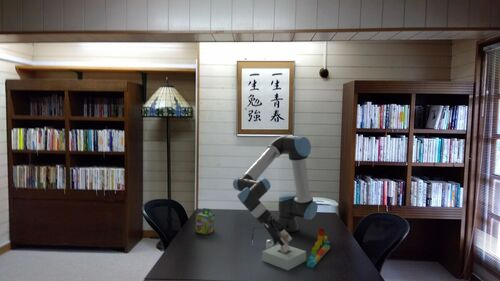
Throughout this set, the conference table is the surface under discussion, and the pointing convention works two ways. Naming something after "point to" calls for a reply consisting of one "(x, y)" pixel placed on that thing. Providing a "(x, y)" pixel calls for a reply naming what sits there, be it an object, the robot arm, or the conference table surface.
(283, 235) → the tall beech pin
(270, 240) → the short metal pin
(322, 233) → the chart
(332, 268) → the conference table surface
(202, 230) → the chalk box
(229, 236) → the conference table surface
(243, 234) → the conference table surface
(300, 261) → the hole block
